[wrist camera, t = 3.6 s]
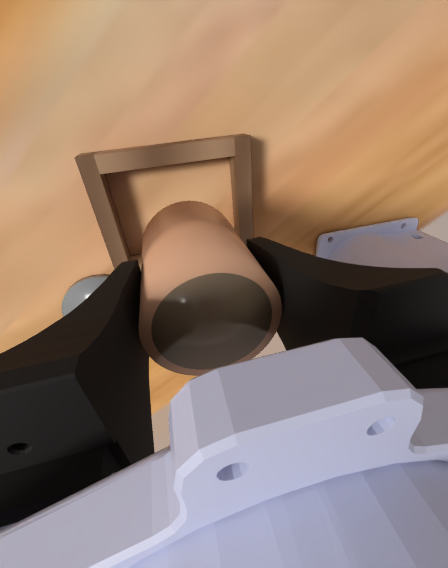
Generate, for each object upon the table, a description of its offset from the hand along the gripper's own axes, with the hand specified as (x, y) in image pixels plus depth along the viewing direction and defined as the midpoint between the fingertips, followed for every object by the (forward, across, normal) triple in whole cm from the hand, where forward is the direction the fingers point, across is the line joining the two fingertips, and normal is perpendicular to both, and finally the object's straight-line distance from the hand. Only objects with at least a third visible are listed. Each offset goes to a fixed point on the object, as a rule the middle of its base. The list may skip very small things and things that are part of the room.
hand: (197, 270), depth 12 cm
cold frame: (+9, 0, 0) cm, 9 cm away
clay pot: (+2, 0, 0) cm, 2 cm away
